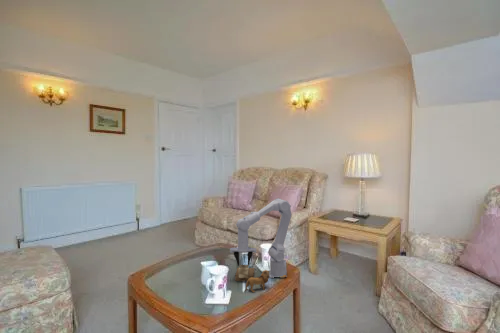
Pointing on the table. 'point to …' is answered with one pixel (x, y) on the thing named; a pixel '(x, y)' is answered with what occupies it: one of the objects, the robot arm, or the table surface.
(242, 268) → the maple cube
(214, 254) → the table surface
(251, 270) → the walnut block
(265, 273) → the lion figurine
